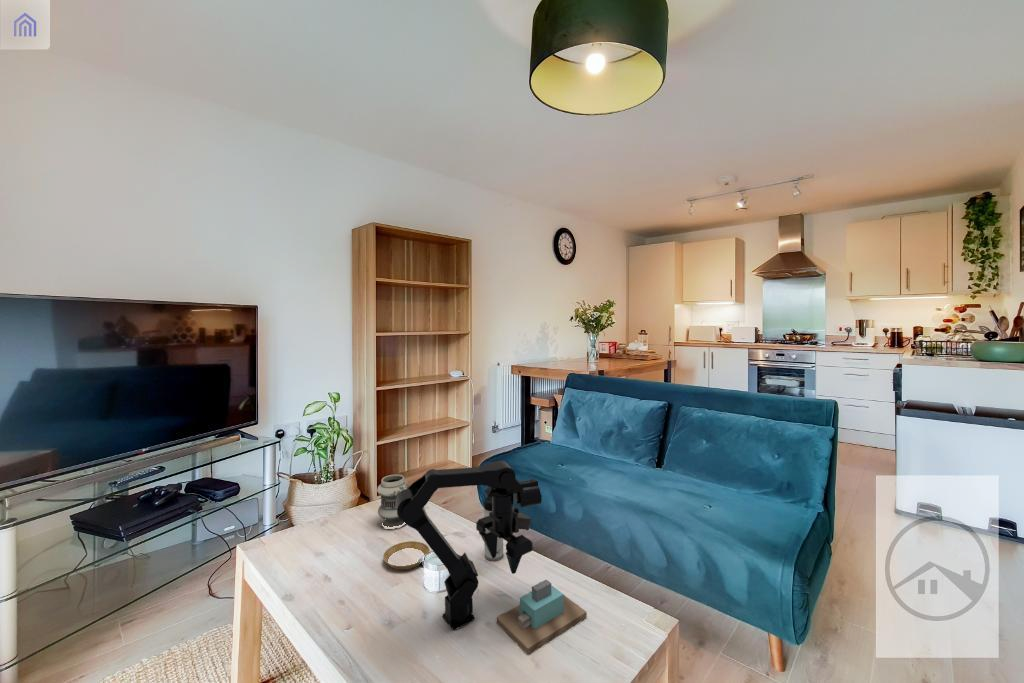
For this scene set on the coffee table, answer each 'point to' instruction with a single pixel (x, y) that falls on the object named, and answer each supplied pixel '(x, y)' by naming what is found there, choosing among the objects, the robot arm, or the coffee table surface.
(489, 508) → the travel mug
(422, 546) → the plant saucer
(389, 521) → the apothecary jar
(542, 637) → the cleat board
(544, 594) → the grooved box
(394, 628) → the coffee table surface
